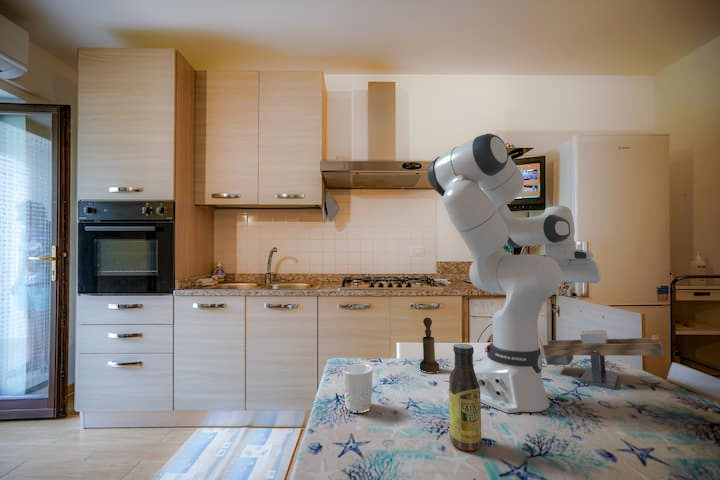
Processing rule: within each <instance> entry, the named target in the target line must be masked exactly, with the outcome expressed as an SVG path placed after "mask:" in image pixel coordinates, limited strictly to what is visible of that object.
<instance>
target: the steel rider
mask: <svg viewBox="0 0 720 480" xmlns="http://www.w3.org/2000/svg"><path fill="white" fill-rule="evenodd" d="M579 335H580V340H582V343H583V344H610V343H609V339H610V338H609V337H608V332H607V330H606V329H603V330H602V329H599V330H583V331H581V333H580V334H579Z"/></svg>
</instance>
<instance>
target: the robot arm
mask: <svg viewBox="0 0 720 480" xmlns="http://www.w3.org/2000/svg"><path fill="white" fill-rule="evenodd" d="M427 179H428V182H429V184H430V186H431V187H432V188H433V189H434V190H435V191H436V193H438V194H439V195H440V196H441V197H443V198H442V201H443V205H444V207H445V210H446V213H447V215H448V217H449V218H450V220H451V222H452V224H453V226H454V227H455V229H456V231H457V232H458V234H459V235H460V237H461V238H462V240H463V242H464V243H465V245H466V247H467V248H468V250H469V252H470V254H471V258H472V263H471V264H470V266H469V270H468V271H469V272H468V273H469V274H468V275H469V281H470V282H471V284H472V285H473V286H474V287H475V288H477V289H479V290H482V291H484V292H486V293H492V294H499V295H500V294H501V295H505V296H506V297H505V303H504V306H503V307H502V308H500V309H499V310H497V311H496V312H495V313H494V314H493V315H492V318H491V328H492V329H491V330H492V341H490V343H489V344H488V345H486V347H485V348H484V353H486V354H487V355H486V356H485V357H484V358H482V359H481V360H479V361H478V362H476V363H475V364H473V368H474V371H475V375H476V378H477V381H478V384H479V386H480V403H482V404H483V405H487V406H489V407H491V408H495V409H497V410H500V411H501V412H505V413H507V414H514V413H519V412H520V413H522V412H523V413H538V412H542V411H543V412H544V411H545V410H547V409H548V408H550V406H551V405H550V404H551V403H550V401H549V399H548V396H547V392H546V389H545V386H544V385H545V384H544V381H543V376H542V371H543V370H542V369H543V358H542V357H543V356H542V353H541V348H540V347H539V332H538V331H539V327H538V326H539V316H540V313H541V310H542V307H543V306H544V304H545V303H546V301H547V300H548V299H549V298H550V297H552V295H554V294H555V293H556V296H557V297H563V296H564V297H571V291H572V289H573V287H574V283H577V284H578V283H580V284H582V283H583V284H584V283H586V284H587V283H588V284H598V283H599V282H600V281H601V272H600V268H599V266H598V263H597V262H596V261H595V260H593V259H594V257H595V256H594V253H593V252H590V251H586V250H584V249H578V248H577V246H576V241H575V234H576V233H575V232H576V231H575V220H574V216H573V213H572V210H571V208H570V207H567V206H565V205H552V206H547V207H546V208H545V209H544V211H543V212H544V213H541V214H540V215H535V216H529V217H516V216H514V215H513V212H512V211H511V210H510V208H509V206H508V205H509V204H510V203H512V202H513V201H514V200H515V199H517V198H518V196H519V195H520V193H522V191H523V188H524V185H525V177H524V174H523V172H522V171H521V169H520V167H518V165H517V164H516V163H515V162H514V161H513V159H512V158H511V157H510V156H509V152H508V148H507V146H506V144H505V142H504V140H503V139H502V138H501V137H500V136H499V135H496V134H493V133H485V134H481V135H479V136H476V137H475V138H474V139H471V140H468V141H466V142H464V143H461V144H460V145H457V146H455V147H453V148H452V149H450V150H448V151H446V152H444V153H443V154H442V155H441V156H438V157H437V158H435V159H434V160H433V161H432V162H431V163H430V164H429V166H428V168H427ZM506 244H508V245H510V246H511V247H513V248H523V247H530V246H542V245H543V246H544V254H532V253H531V254H530V253H527V254H525V253H524V254H509V253H507V252H506V251H505V248H504V247H505V245H506ZM562 283H567V286H568V288H567V290H562V289H561V290H560V288H561V285H562ZM563 294H564V295H563Z"/></svg>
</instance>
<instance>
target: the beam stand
mask: <svg viewBox="0 0 720 480" xmlns="http://www.w3.org/2000/svg"><path fill="white" fill-rule="evenodd" d="M590 354H591V355H590V366H591V367H588V366H587V367H586V368H585V370H584V371H583V373H582V375H581V377H580V379H579V381H580V384H585V385H589V386H595V387H598V388H604V389H609V390H615V389H616V386H617V383H618V377H619V372H617V371H612V370H607V366H606V357H605V356H606V355H600V354H599V352H594V351H591V352H590Z"/></svg>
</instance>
